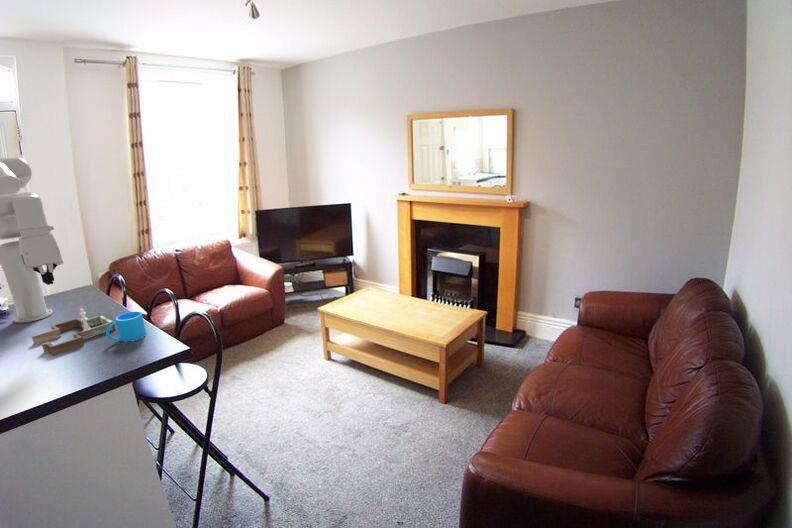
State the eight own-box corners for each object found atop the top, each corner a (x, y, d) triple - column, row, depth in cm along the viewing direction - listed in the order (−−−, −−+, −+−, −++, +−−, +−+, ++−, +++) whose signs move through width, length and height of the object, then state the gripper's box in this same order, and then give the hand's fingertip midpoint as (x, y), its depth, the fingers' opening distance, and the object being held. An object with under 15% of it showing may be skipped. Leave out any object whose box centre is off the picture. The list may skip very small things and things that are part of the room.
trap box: (29, 340, 159) (27, 332, 158) (97, 319, 176) (96, 312, 175) (49, 356, 146) (47, 348, 145) (121, 332, 163) (119, 324, 162)
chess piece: (86, 336, 160) (79, 310, 157) (76, 335, 161) (69, 310, 159) (99, 330, 164) (92, 305, 162) (89, 330, 166) (82, 305, 163)
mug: (141, 330, 164) (137, 309, 162) (149, 336, 159) (145, 315, 156) (105, 341, 156) (99, 320, 153) (112, 348, 150) (107, 326, 148)
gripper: (57, 226, 155) (70, 276, 160) (3, 235, 144) (19, 288, 149) (65, 229, 151) (78, 279, 156) (9, 238, 139) (25, 292, 145)
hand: (49, 283), depth 153 cm, fingers closed
